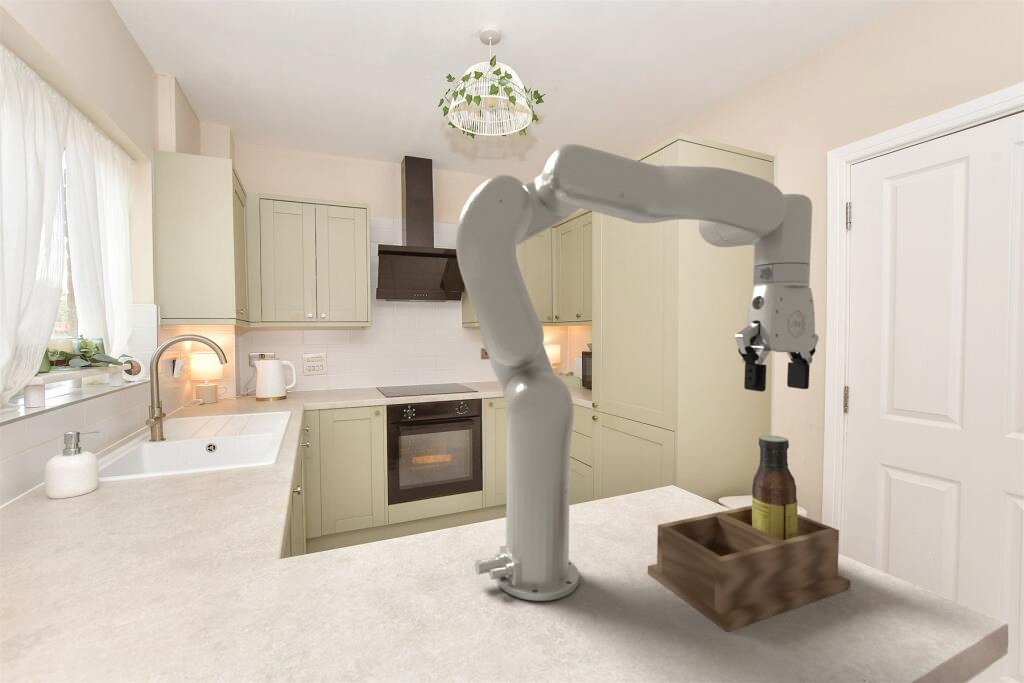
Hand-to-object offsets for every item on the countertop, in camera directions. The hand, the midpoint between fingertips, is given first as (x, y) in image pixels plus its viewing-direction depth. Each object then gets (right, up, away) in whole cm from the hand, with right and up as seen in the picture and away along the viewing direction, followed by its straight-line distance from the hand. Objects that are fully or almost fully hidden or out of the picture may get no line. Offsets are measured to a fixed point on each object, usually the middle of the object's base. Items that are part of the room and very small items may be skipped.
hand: (776, 389), depth 72 cm
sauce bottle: (0, -28, +1) cm, 28 cm away
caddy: (-5, -29, -2) cm, 30 cm away
